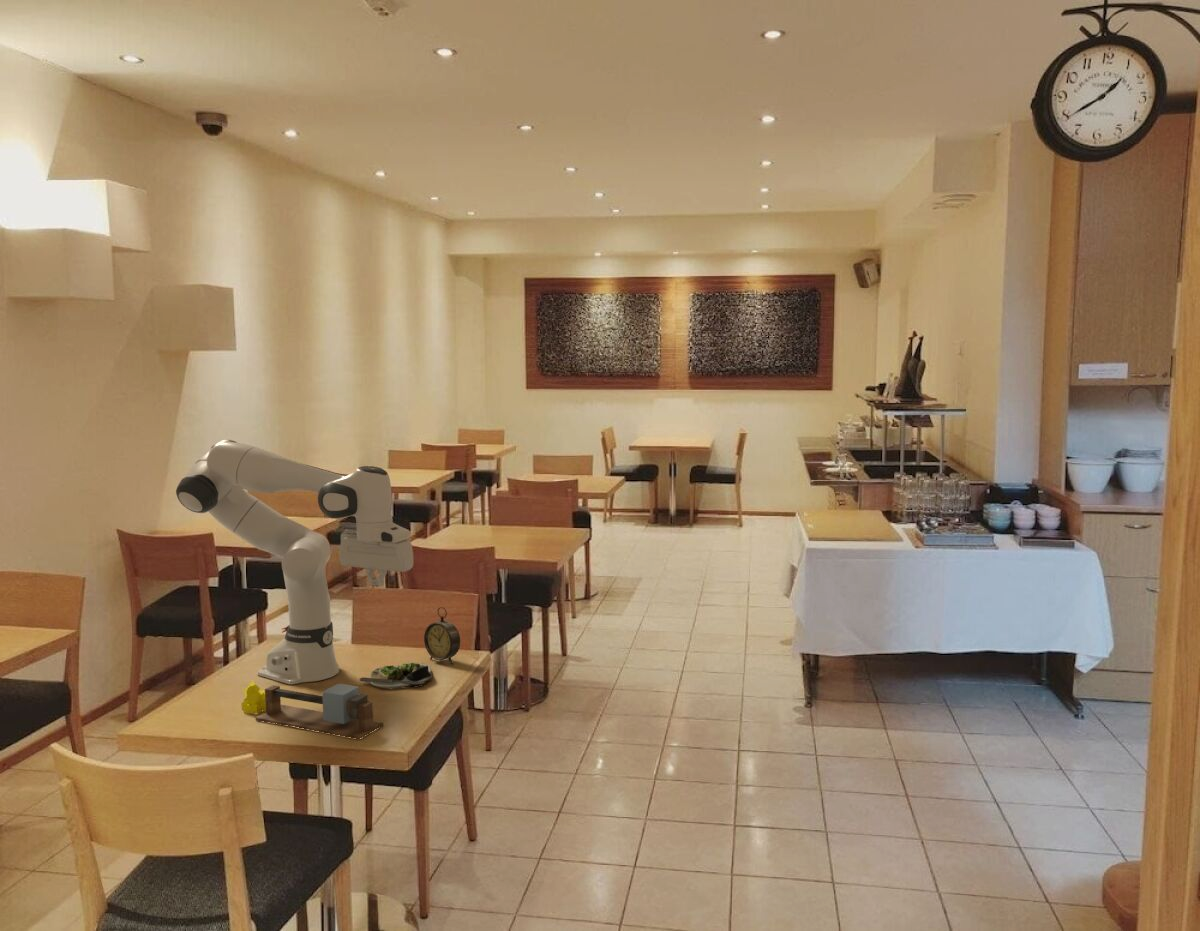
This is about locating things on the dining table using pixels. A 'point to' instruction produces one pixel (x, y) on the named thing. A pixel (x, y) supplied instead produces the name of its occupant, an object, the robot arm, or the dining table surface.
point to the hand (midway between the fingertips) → (376, 585)
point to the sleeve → (338, 702)
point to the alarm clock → (442, 639)
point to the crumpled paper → (254, 699)
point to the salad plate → (400, 676)
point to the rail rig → (319, 714)
